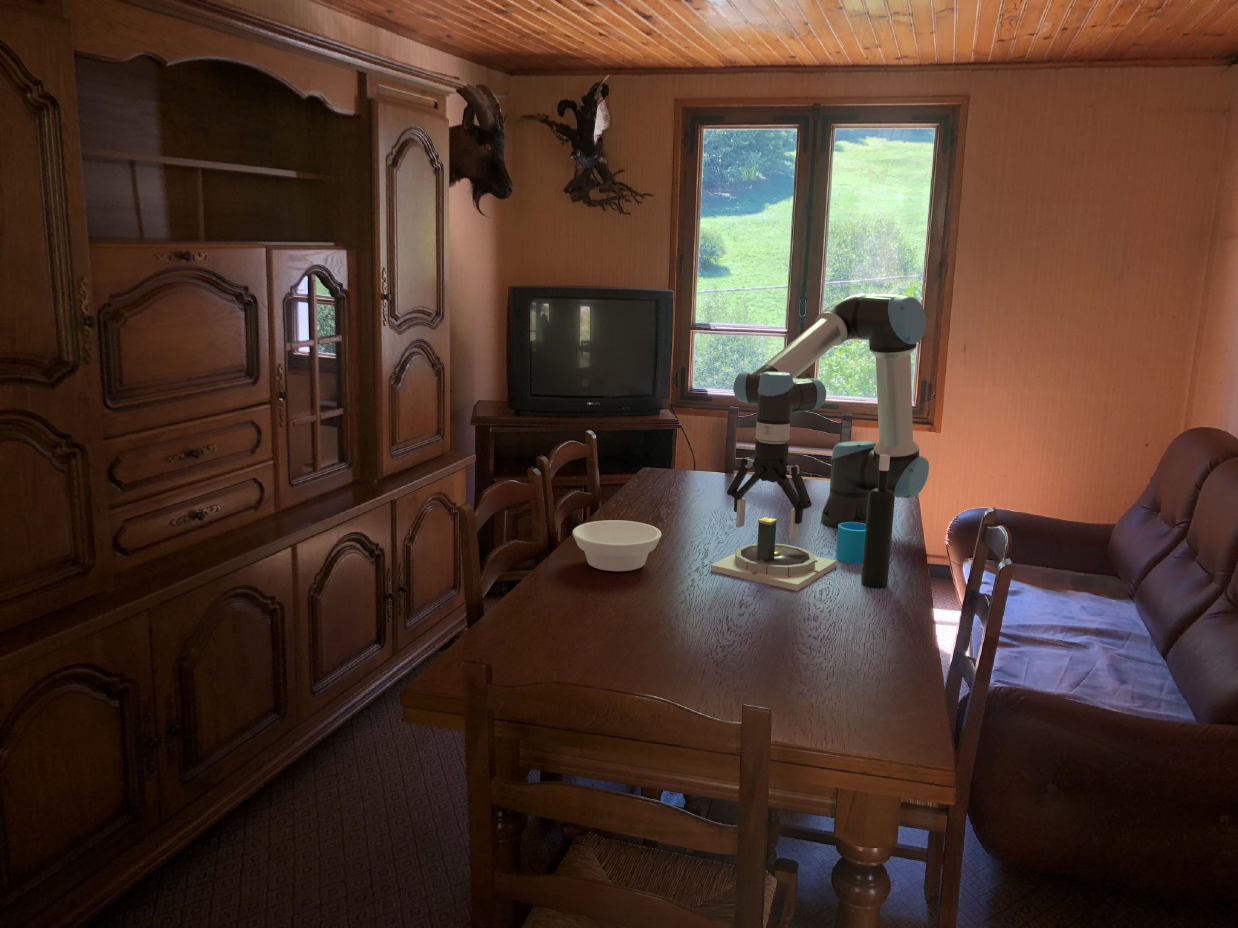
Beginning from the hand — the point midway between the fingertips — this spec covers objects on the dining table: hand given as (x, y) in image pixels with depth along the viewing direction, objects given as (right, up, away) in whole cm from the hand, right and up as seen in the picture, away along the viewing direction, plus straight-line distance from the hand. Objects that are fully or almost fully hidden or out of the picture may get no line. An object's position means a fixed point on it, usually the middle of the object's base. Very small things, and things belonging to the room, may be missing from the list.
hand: (766, 531), depth 221 cm
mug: (+25, -8, +18) cm, 31 cm away
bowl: (-35, -9, +7) cm, 36 cm away
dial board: (+3, -9, +6) cm, 12 cm away
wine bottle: (+24, -12, -3) cm, 27 cm away
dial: (+3, -7, +6) cm, 10 cm away
